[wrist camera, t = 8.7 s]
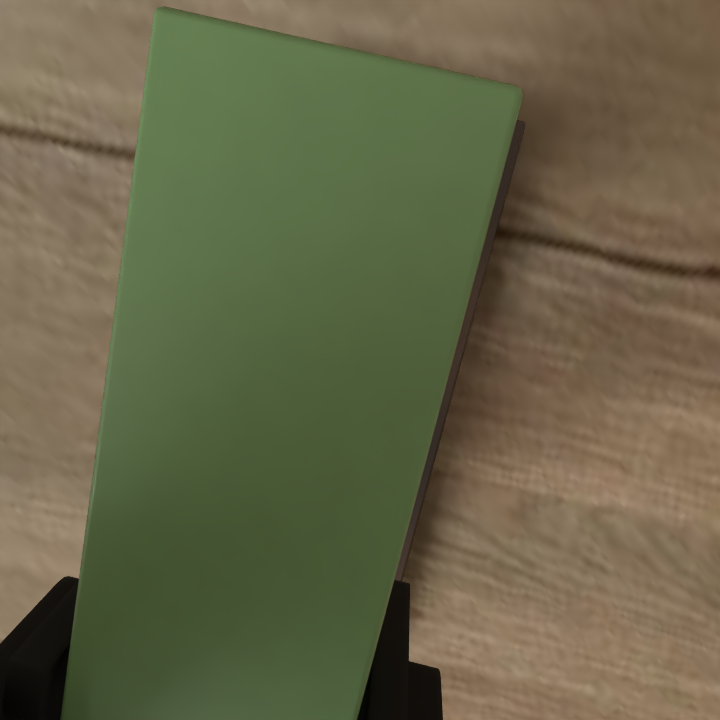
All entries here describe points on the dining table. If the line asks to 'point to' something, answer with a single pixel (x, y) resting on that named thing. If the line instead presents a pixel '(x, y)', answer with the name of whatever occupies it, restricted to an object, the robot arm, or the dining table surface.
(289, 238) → the green bar
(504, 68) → the dining table surface
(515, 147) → the rod stand
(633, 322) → the dining table surface
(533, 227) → the dining table surface
